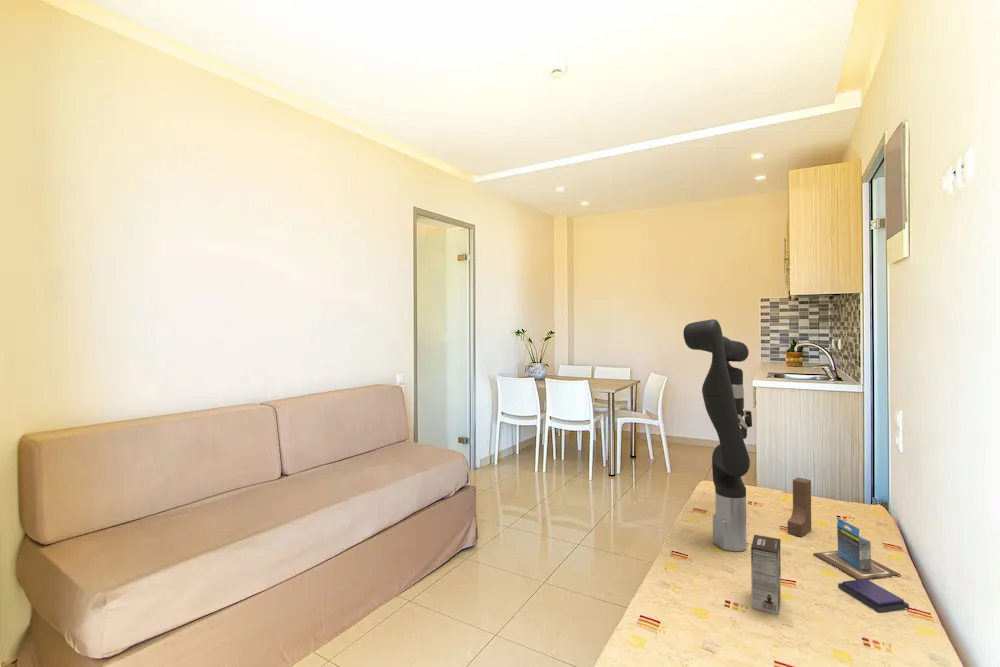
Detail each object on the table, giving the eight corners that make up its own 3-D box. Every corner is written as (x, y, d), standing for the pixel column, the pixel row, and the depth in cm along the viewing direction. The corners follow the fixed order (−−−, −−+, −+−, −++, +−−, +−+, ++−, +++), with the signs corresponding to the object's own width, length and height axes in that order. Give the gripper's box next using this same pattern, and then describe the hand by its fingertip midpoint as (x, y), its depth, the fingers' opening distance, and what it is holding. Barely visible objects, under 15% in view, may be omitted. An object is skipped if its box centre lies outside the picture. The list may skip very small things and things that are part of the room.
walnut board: (858, 581, 138) (858, 578, 138) (813, 555, 154) (813, 552, 154) (900, 576, 141) (900, 573, 141) (851, 551, 156) (851, 549, 156)
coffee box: (754, 591, 134) (753, 533, 133) (781, 598, 130) (780, 538, 130) (751, 608, 126) (750, 546, 126) (779, 615, 122) (779, 552, 122)
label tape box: (872, 570, 143) (872, 528, 143) (859, 570, 143) (858, 528, 143) (848, 556, 152) (848, 516, 152) (836, 556, 152) (836, 517, 152)
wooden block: (801, 537, 167) (801, 485, 167) (787, 533, 170) (786, 482, 170) (811, 530, 172) (811, 479, 172) (797, 526, 176) (797, 476, 176)
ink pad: (878, 612, 123) (878, 604, 123) (838, 587, 135) (838, 580, 135) (908, 608, 125) (908, 601, 125) (866, 584, 136) (866, 577, 136)
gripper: (743, 393, 188) (743, 436, 188) (709, 395, 186) (709, 437, 186) (756, 396, 181) (756, 440, 181) (721, 398, 178) (721, 442, 178)
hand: (732, 439), depth 183 cm, fingers open, 8 cm apart
